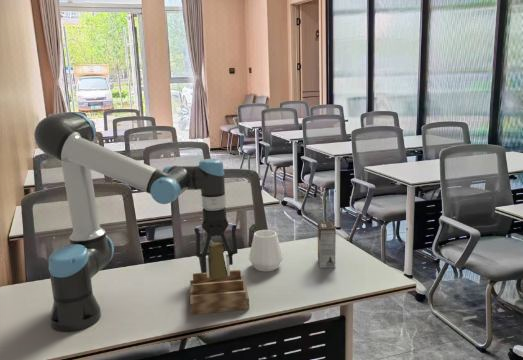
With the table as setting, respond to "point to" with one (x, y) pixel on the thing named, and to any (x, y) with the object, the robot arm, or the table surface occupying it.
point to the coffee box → (326, 244)
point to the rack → (218, 293)
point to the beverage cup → (203, 269)
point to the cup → (265, 251)
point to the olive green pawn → (217, 261)
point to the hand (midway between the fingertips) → (218, 274)
